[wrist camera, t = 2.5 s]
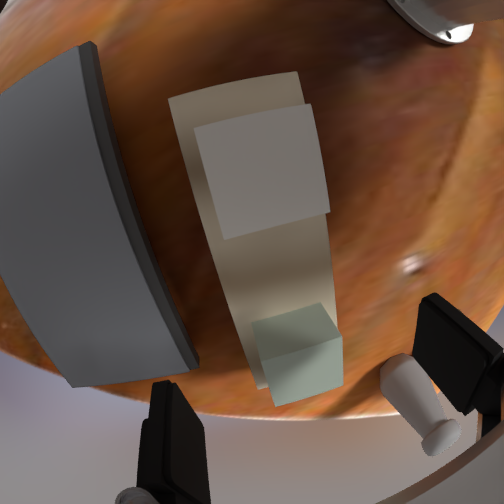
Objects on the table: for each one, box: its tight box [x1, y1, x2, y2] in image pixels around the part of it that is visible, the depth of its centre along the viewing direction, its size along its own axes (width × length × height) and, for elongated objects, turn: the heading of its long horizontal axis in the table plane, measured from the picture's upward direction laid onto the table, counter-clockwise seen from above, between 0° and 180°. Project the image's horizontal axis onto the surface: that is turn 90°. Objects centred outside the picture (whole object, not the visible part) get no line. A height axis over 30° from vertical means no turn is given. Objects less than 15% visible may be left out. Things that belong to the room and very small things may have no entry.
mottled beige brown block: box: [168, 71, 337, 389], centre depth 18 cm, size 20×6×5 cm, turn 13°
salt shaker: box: [380, 353, 461, 456], centre depth 23 cm, size 6×6×13 cm
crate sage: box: [251, 302, 343, 407], centre depth 17 cm, size 4×4×4 cm
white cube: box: [194, 104, 330, 240], centre depth 12 cm, size 4×4×4 cm
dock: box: [0, 41, 199, 388], centre depth 17 cm, size 24×13×3 cm, turn 13°
